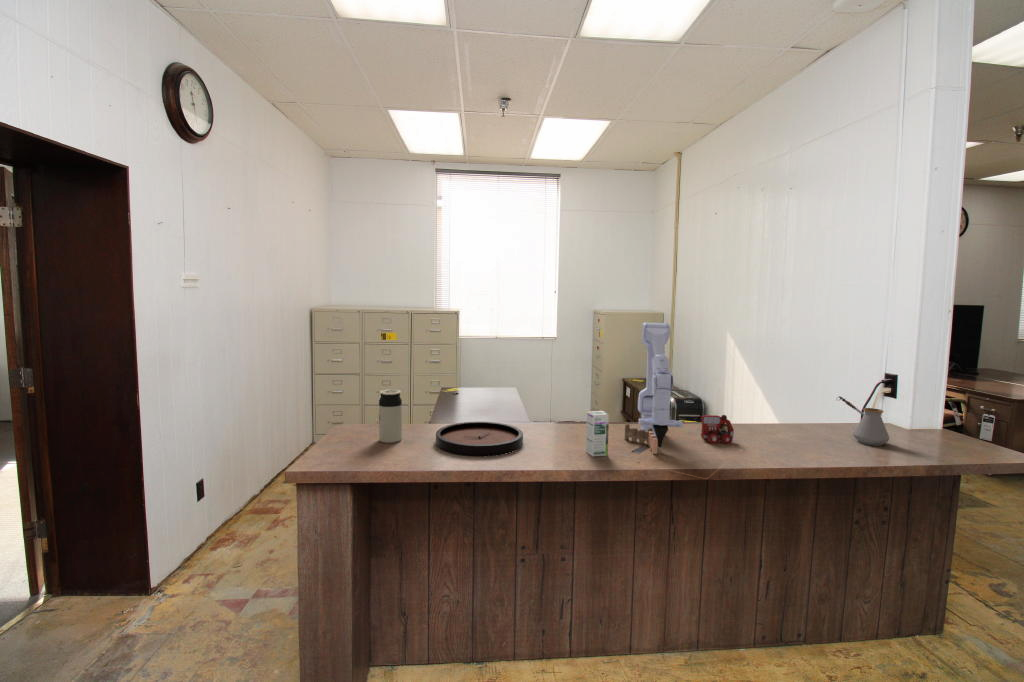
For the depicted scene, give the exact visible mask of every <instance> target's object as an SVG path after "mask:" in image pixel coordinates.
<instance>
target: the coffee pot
mask: <svg viewBox="0 0 1024 682" xmlns="http://www.w3.org/2000/svg"><path fill="white" fill-rule="evenodd" d="M838 398H839V399H838ZM836 401H842V402H844V403H845V404H846V405H848V406H849V407H850V408H852V409H853V410H855V411H856V412H858V414H860V415H861V416H862V418H861V419H860V421H859V422H858V423H857V425H856V427H855V429H854V430H853V432H852V435H853V437H854V438H855V439H856V440H857V442H859V444H860V443H861V444H863V445H869V446H873V447H874V446H878V447H879V446H881V447H882V446H883V444H886V443H888V442H889V441H890V436H889V433H888V431H887V428H886V425H885V423H884V420H883V418H882V413H884V412H885V411H884V410H882V409H879V408H872V407H863V408H862V410H863V411H862V410H860V409H859V408H857V407H856V406H855V405H854V404H852V403H851V402H850V401H848V400H847V399H846V398H844V397H843V396H837V398H836Z"/></svg>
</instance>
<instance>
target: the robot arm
mask: <svg viewBox="0 0 1024 682" xmlns="http://www.w3.org/2000/svg"><path fill="white" fill-rule="evenodd" d="M670 336H671V326H670V324H669V322H665V323H664V322H661V323H660V322H646V321H645V322H643V323H642V325H641V343H642V345H645V347H646V355H647V356H646V381H645V382H646V383H645V385H646V386H645V388H644V389H642V390H640V391H639V393H638V398H637V410H638V412H639V413H640V415H641V416H640V417H641V418H638V426H640V430H641V429H643V430H645V431H647V432H648V428H652V429H653V432H654V434H653V435H655V436H656V438H657V439H658V447H657V448H662V443H663V441H664V438H665V436H666V434H667V433H668V432H669V428H670V427H673V428H674V427H675V428H680V429H683V426H684V425H683V424H684V422H683V421H682V420H675V419H670V413H671V410H670V409H671V396H672V395H671V393H672V390H673V387H674V375H673V373H672V370H671V369H670V361H669V358H668V357H667V356H666V355H665V353H666V351H665V350H666V344H667V343H668V341H669V339H670Z"/></svg>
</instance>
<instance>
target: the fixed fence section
mask: <svg viewBox="0 0 1024 682" xmlns="http://www.w3.org/2000/svg"><path fill="white" fill-rule="evenodd" d="M649 431H652V432H653V429H652V428H648V432H647V431H645V430H643V429H641V428H640V429H638V428H637V427H633V428H631V427H630V424H629V423H625V424H624V441H629V440H630V438H631V442H632V443H637V442H638V444H642V445H643V444H645V441H646V446H647V445H648V440H649ZM638 440H639V441H638Z"/></svg>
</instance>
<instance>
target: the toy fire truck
mask: <svg viewBox="0 0 1024 682" xmlns="http://www.w3.org/2000/svg"><path fill="white" fill-rule="evenodd" d="M700 421H701V433H700V437H701V439H702V440H704V441H706V442H708V443H709V444H711V445H712V444H715V445H716V444H718V443H719V442H721V443H722V444H724V445H728V444H729V445H731V444H732V442H733V440H734V439H733V438H734V431H735V430H734V427H733V425H732V423H731V421H730V420H729V419H728V417H727V415H725V414H722V415H721V416H720V415H718V414H717V415H715V414H714V415H711V414H708V415H705V414H704V415H703V414H702V415H701V418H700ZM719 440H721V441H719Z"/></svg>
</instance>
